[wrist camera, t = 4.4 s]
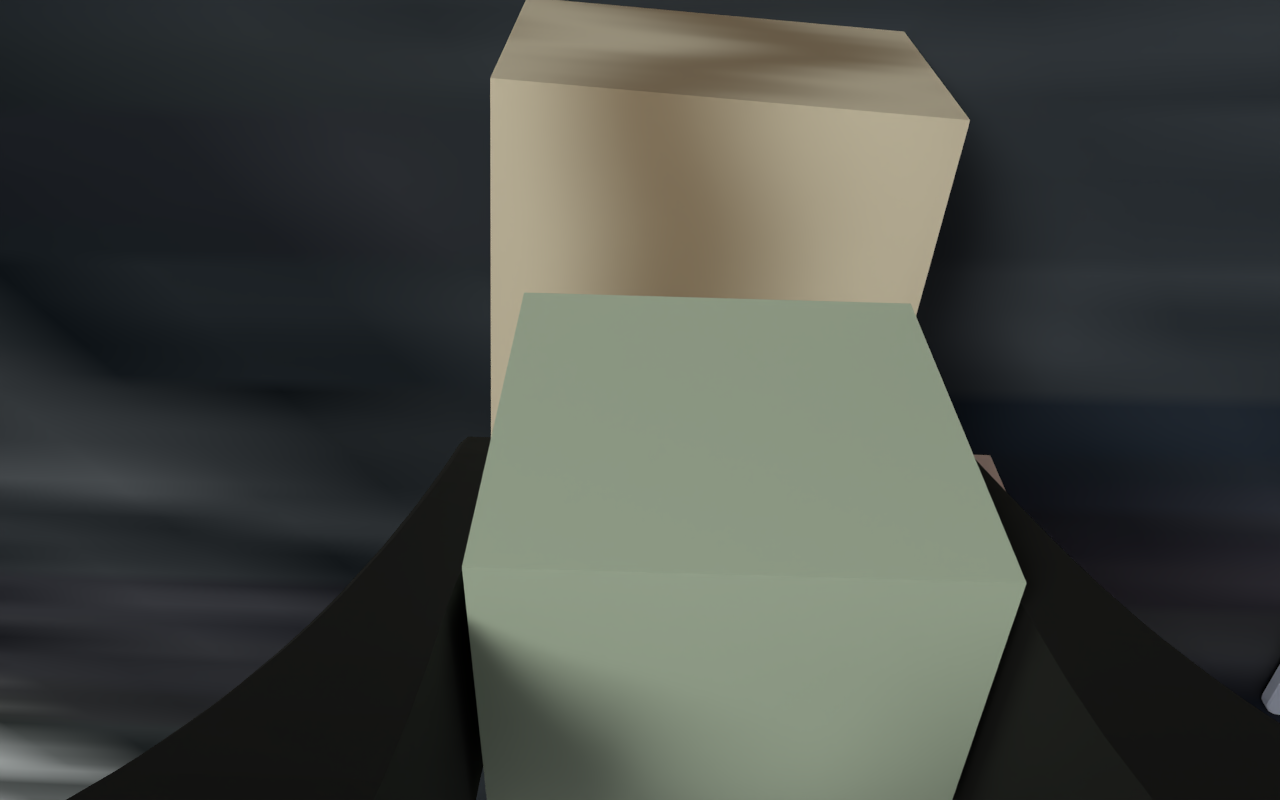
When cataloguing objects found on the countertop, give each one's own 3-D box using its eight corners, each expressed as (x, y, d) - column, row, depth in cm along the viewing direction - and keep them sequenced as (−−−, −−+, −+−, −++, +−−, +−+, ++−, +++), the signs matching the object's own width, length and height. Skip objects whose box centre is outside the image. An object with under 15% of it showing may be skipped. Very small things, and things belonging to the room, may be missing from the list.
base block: (901, 29, 19) (969, 120, 15) (830, 347, 23) (868, 488, 19) (527, -5, 19) (490, 77, 14) (521, 322, 23) (491, 459, 18)
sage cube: (910, 303, 13) (1027, 582, 9) (854, 580, 16) (921, 887, 12) (523, 292, 13) (461, 567, 9) (537, 571, 16) (494, 875, 12)
